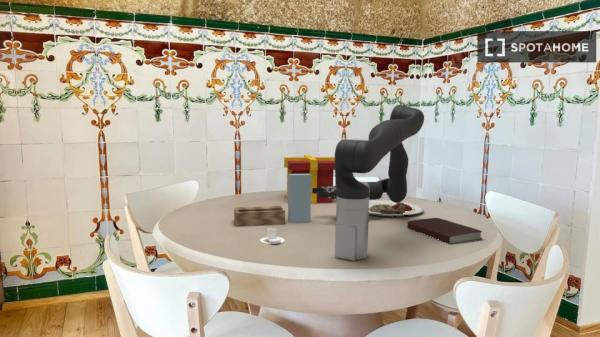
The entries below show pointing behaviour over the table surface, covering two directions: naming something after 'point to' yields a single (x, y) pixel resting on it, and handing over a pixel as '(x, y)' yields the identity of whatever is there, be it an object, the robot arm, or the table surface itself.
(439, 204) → the table surface
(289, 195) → the cover panel
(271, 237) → the teacup and saucer
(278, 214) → the slot box
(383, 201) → the plated food
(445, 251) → the table surface
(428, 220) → the book
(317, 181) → the gift box
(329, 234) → the table surface
